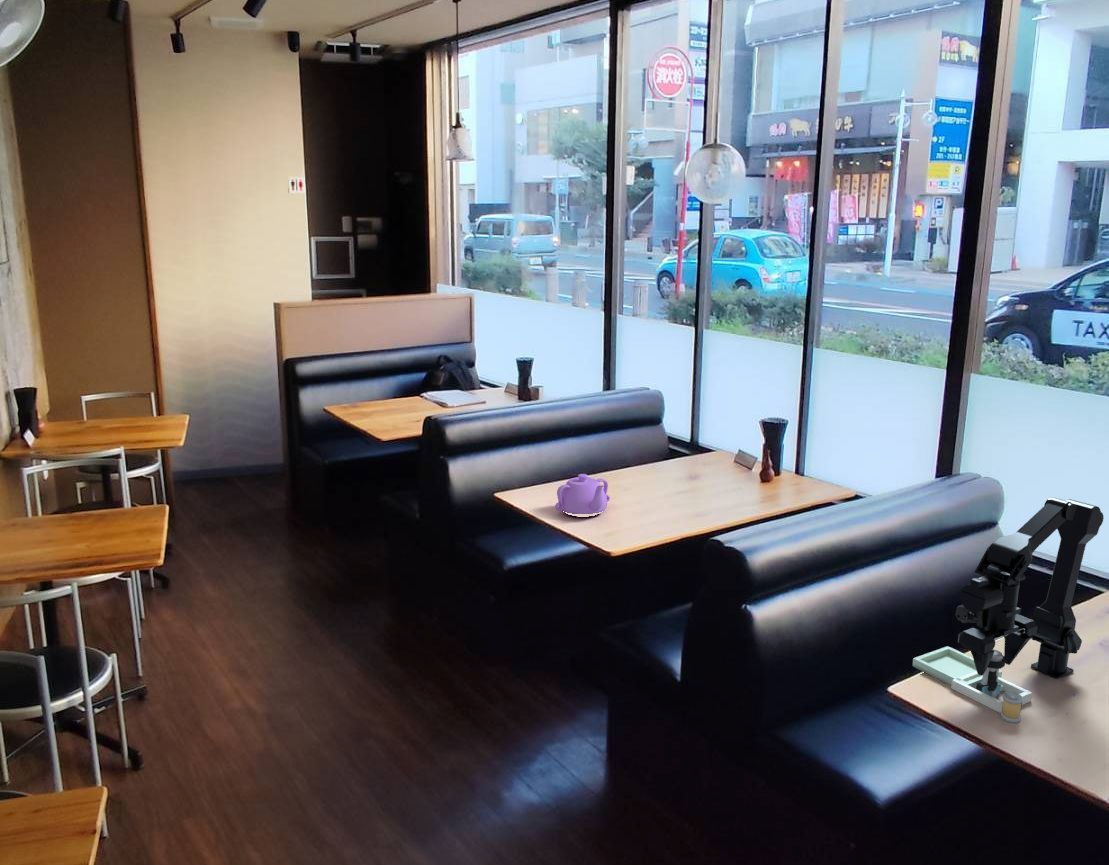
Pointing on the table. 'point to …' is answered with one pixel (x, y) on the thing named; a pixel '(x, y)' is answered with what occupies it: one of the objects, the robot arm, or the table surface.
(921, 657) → the parts tray
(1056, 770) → the table surface
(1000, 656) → the push button
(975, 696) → the pale rectangular frame
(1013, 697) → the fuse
